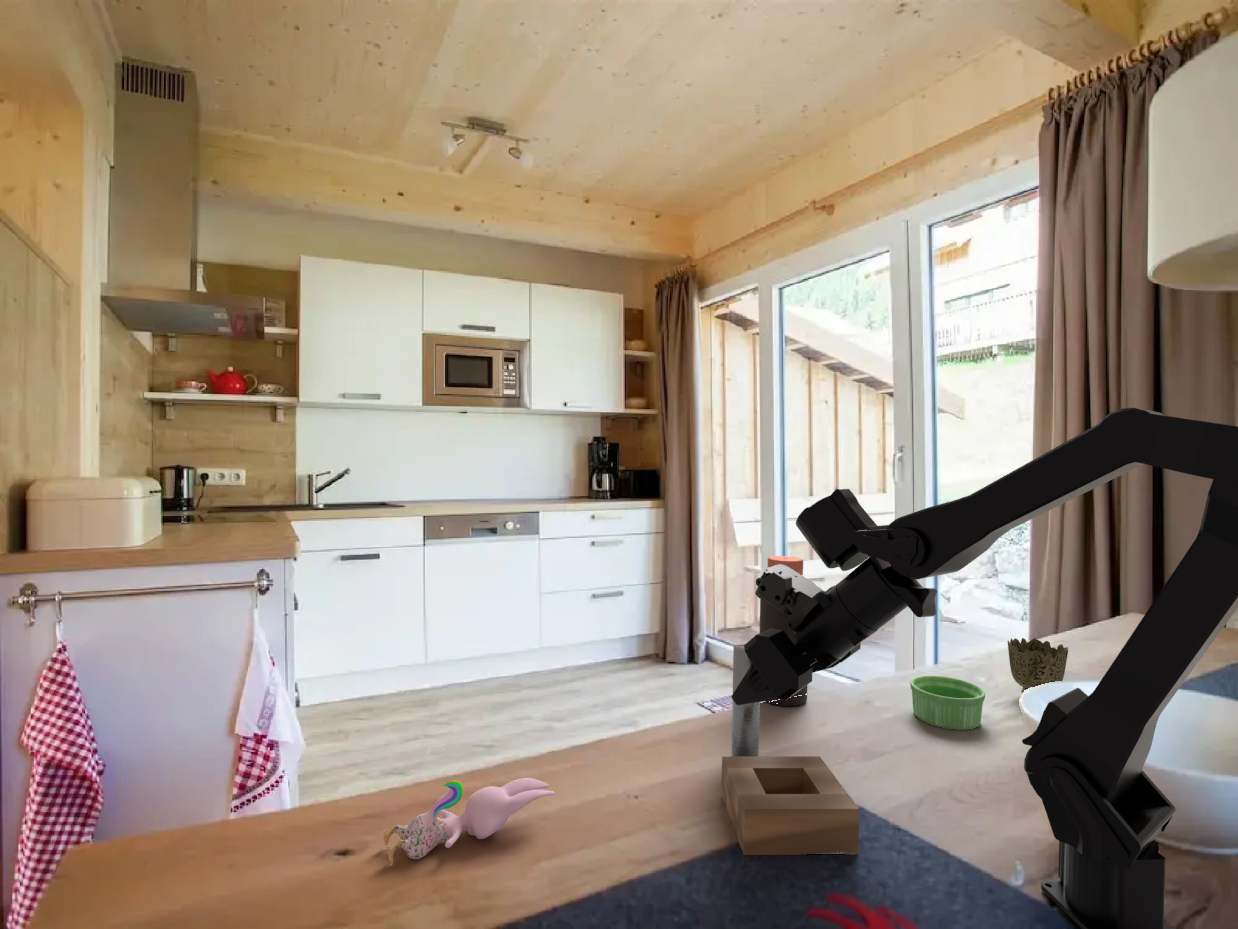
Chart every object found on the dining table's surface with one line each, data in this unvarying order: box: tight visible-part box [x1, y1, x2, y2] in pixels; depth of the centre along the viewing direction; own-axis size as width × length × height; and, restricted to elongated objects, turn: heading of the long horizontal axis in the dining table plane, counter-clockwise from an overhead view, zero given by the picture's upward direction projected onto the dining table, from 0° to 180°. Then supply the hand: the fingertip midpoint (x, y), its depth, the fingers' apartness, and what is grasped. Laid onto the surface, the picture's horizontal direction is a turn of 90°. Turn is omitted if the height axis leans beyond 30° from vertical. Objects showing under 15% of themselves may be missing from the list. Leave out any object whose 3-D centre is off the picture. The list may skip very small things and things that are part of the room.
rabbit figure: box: [382, 777, 555, 867], centre depth 59 cm, size 6×6×15 cm
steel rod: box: [730, 643, 761, 756], centre depth 74 cm, size 3×3×13 cm
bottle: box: [759, 555, 808, 707], centre depth 95 cm, size 7×7×20 cm
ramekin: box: [909, 675, 986, 731], centre depth 89 cm, size 9×9×4 cm
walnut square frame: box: [720, 755, 860, 856], centre depth 63 cm, size 10×10×4 cm
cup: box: [1007, 637, 1069, 694], centre depth 96 cm, size 8×7×8 cm
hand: (754, 689), depth 74 cm, fingers open, 9 cm apart
